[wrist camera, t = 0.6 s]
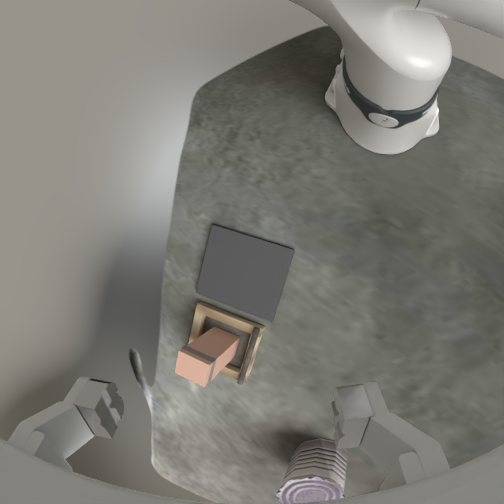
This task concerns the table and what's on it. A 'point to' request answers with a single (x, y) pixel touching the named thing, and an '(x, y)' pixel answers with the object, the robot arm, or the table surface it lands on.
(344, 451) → the can
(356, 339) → the table surface
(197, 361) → the block
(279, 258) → the mat
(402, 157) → the table surface
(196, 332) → the frame
